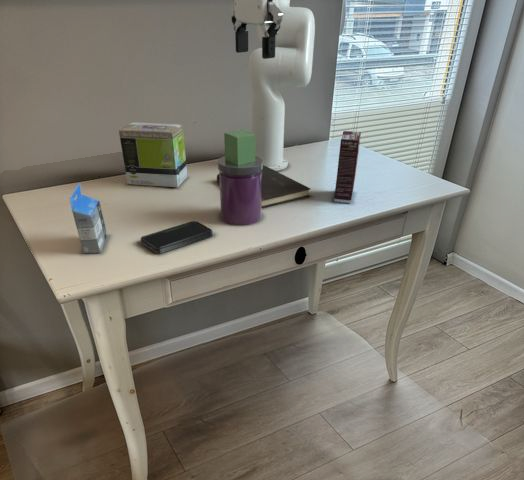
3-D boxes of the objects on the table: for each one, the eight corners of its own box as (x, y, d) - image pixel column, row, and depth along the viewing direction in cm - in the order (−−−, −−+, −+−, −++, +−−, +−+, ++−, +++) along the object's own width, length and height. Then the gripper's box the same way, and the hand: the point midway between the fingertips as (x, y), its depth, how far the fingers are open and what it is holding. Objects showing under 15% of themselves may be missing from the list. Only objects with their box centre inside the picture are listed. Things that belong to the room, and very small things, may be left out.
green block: (225, 160, 114) (224, 132, 111) (242, 156, 117) (242, 129, 113) (237, 165, 111) (237, 137, 108) (255, 161, 114) (255, 134, 110)
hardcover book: (263, 172, 149) (263, 164, 147) (309, 196, 134) (310, 188, 132) (216, 182, 142) (216, 174, 140) (260, 208, 127) (260, 199, 125)
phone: (214, 231, 113) (157, 249, 105) (214, 235, 114) (157, 254, 106) (194, 220, 118) (138, 237, 110) (195, 224, 118) (139, 241, 110)
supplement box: (351, 204, 130) (359, 140, 120) (333, 202, 131) (339, 139, 121) (353, 192, 137) (361, 131, 127) (336, 190, 137) (342, 130, 127)
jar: (212, 215, 123) (209, 159, 115) (245, 205, 128) (244, 151, 120) (236, 229, 117) (235, 171, 108) (270, 218, 122) (272, 162, 113)
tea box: (188, 177, 145) (183, 123, 136) (177, 188, 137) (172, 132, 128) (139, 173, 147) (131, 120, 138) (126, 185, 139) (117, 129, 130)
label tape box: (101, 253, 106) (89, 197, 99) (81, 254, 106) (68, 198, 98) (107, 235, 113) (97, 182, 106) (89, 236, 113) (77, 182, 105)
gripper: (297, -42, 96) (292, 59, 107) (244, -44, 107) (245, 48, 118) (266, -42, 93) (265, 62, 103) (215, -44, 103) (219, 51, 114)
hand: (255, 55), depth 110 cm, fingers open, 9 cm apart
